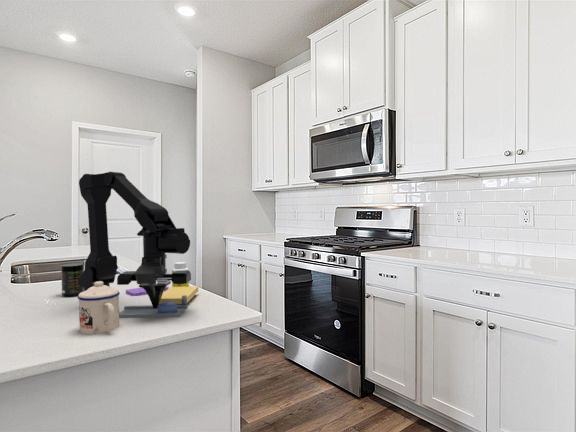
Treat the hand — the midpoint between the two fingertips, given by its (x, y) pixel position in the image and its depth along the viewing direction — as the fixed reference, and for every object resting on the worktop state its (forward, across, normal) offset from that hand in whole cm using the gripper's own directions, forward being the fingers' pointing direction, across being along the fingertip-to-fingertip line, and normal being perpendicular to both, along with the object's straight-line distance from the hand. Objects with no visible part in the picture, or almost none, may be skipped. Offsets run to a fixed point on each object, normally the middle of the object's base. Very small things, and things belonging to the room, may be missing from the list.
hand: (155, 308), depth 103 cm
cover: (0, +3, +12) cm, 13 cm away
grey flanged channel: (+2, -1, 0) cm, 2 cm away
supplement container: (+2, -36, +24) cm, 44 cm away
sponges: (+2, -12, +27) cm, 30 cm away
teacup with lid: (+2, -8, -13) cm, 16 cm away
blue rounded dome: (+1, +3, 0) cm, 3 cm away
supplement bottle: (+2, 0, +27) cm, 27 cm away
